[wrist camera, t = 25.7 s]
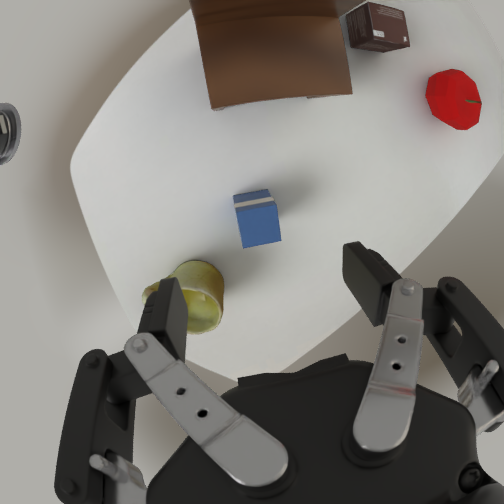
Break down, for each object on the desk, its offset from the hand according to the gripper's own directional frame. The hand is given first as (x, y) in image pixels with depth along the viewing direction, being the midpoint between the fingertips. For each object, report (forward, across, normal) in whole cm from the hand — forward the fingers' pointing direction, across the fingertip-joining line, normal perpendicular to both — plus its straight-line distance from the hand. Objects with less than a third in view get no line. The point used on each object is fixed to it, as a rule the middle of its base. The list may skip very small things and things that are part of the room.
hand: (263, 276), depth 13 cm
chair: (+28, -6, -13) cm, 31 cm away
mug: (+28, +11, +17) cm, 34 cm away
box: (+28, -23, -19) cm, 41 cm away
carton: (+28, -2, +7) cm, 28 cm away
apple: (+28, -37, -9) cm, 47 cm away
